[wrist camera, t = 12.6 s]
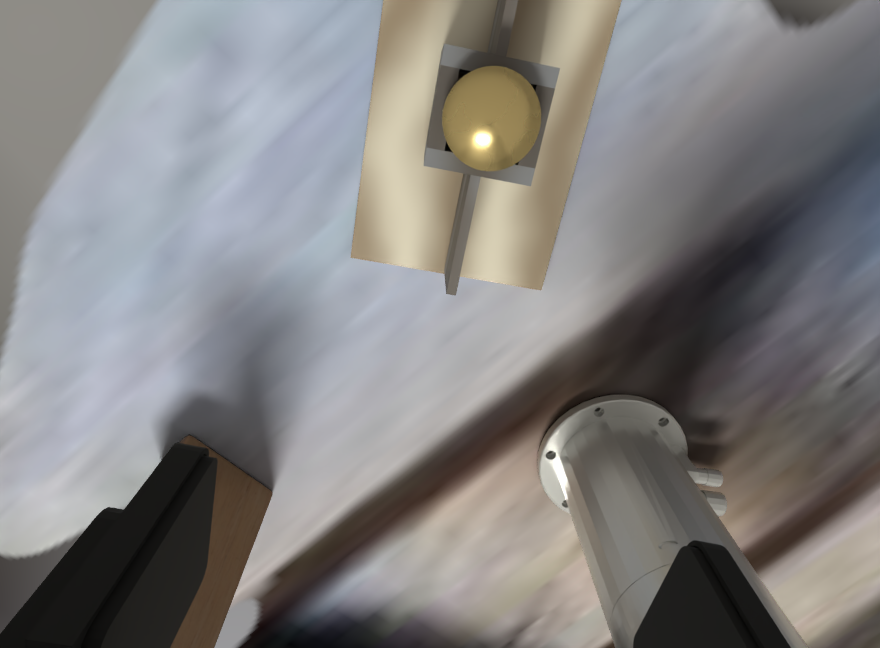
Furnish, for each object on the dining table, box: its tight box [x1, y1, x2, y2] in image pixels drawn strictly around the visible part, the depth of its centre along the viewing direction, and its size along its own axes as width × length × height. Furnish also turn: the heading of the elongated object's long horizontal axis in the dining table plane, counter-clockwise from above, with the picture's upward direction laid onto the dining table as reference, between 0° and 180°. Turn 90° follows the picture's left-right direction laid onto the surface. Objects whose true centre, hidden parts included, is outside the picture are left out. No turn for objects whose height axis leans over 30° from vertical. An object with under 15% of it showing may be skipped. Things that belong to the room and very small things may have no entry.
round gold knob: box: [442, 66, 541, 171], centre depth 31 cm, size 5×5×6 cm
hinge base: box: [351, 0, 621, 295], centre depth 33 cm, size 14×22×7 cm, turn 169°
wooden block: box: [158, 435, 272, 648], centre depth 39 cm, size 9×4×18 cm, turn 45°
